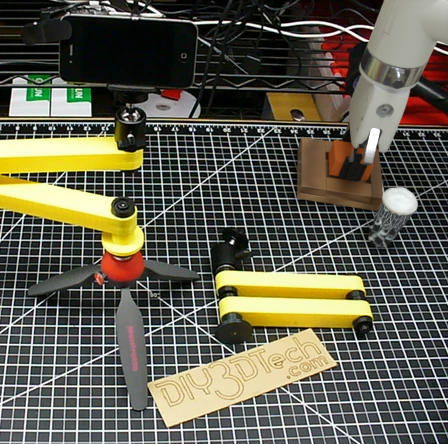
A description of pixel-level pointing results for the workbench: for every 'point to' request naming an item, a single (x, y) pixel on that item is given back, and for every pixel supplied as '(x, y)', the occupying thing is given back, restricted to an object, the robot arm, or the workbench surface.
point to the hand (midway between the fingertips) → (348, 165)
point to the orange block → (339, 155)
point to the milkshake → (391, 215)
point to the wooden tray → (334, 179)
